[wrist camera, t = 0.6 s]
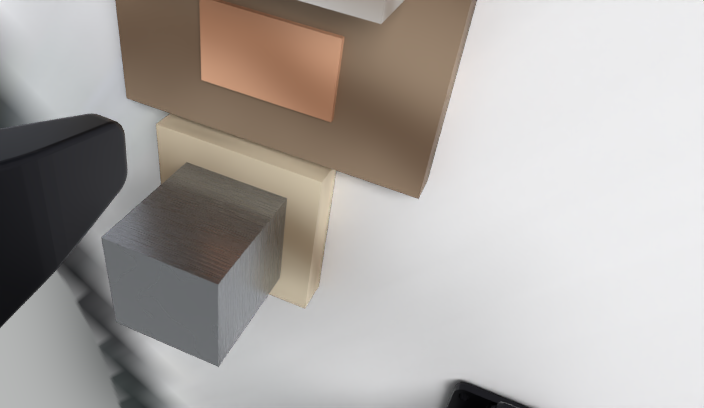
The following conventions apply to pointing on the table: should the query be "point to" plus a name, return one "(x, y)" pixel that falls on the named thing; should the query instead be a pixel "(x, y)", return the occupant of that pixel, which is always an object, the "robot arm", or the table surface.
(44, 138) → the robot arm
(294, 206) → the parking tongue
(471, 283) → the table surface
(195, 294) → the grey angular block
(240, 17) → the rack board
